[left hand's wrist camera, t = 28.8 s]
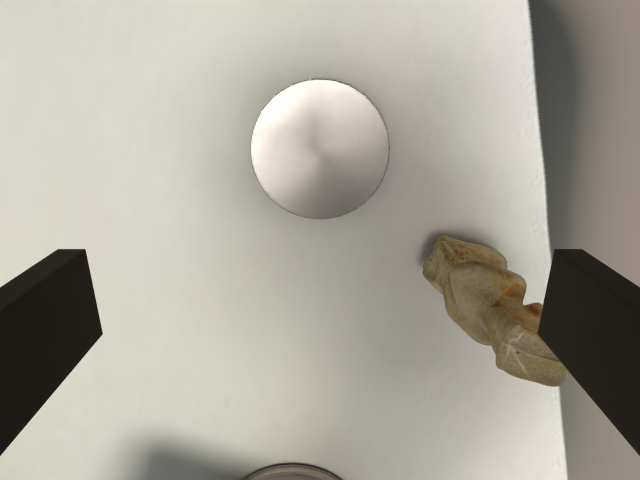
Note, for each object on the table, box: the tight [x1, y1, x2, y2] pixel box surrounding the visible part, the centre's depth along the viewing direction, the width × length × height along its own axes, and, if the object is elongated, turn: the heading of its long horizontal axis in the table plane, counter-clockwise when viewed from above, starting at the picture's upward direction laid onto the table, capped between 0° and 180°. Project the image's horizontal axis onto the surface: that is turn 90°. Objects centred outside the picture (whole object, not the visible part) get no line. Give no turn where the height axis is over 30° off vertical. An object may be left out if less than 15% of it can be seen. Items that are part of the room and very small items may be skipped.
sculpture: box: [423, 235, 569, 386], centre depth 33 cm, size 6×7×15 cm
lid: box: [250, 79, 390, 219], centre depth 36 cm, size 11×11×2 cm
